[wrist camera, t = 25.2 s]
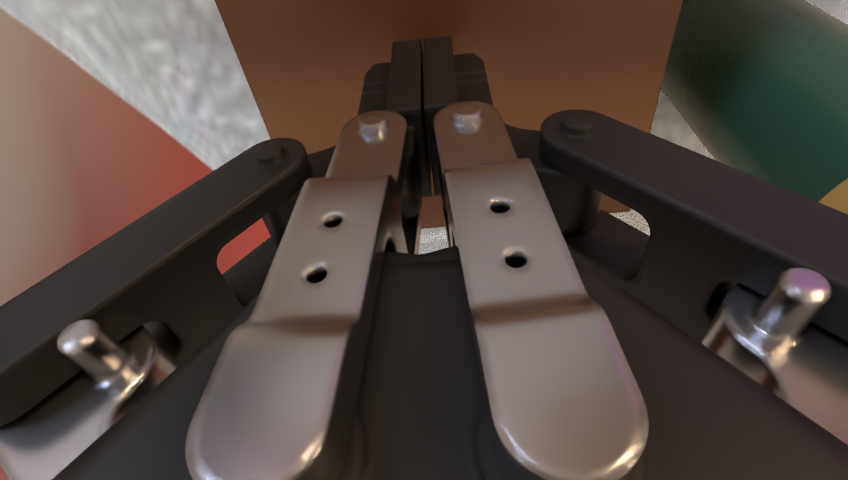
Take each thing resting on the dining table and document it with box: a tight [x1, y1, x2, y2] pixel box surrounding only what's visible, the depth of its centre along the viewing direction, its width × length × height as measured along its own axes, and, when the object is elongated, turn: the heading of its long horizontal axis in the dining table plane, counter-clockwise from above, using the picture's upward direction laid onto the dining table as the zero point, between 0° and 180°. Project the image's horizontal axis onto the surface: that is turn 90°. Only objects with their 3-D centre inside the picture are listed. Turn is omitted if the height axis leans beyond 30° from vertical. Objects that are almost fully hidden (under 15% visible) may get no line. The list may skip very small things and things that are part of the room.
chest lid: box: [215, 0, 683, 229], centre depth 13 cm, size 16×13×1 cm
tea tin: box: [661, 0, 848, 214], centre depth 17 cm, size 6×6×14 cm
